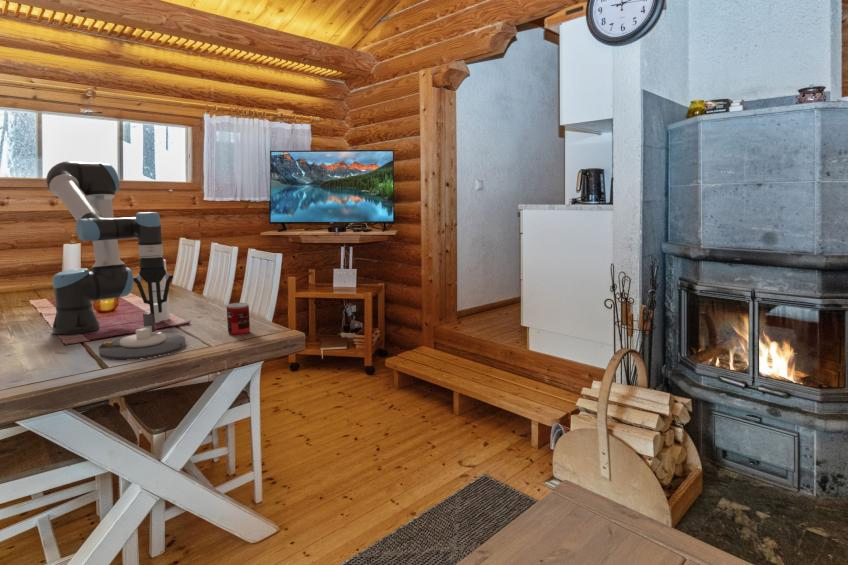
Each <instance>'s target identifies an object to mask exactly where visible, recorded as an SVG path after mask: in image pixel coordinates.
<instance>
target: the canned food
mask: <svg viewBox="0 0 848 565" xmlns="http://www.w3.org/2000/svg"><path fill="white" fill-rule="evenodd" d="M226 319H227V320H226V321H227V333H228V334H229V336H243V335H242V334H245V335H248V334H250V332H251V328H250V325H251V324H250V306H249V303H247V302H234V303H233V302H232V303H228V304H227V305H226ZM247 333H248V334H247Z"/></svg>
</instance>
